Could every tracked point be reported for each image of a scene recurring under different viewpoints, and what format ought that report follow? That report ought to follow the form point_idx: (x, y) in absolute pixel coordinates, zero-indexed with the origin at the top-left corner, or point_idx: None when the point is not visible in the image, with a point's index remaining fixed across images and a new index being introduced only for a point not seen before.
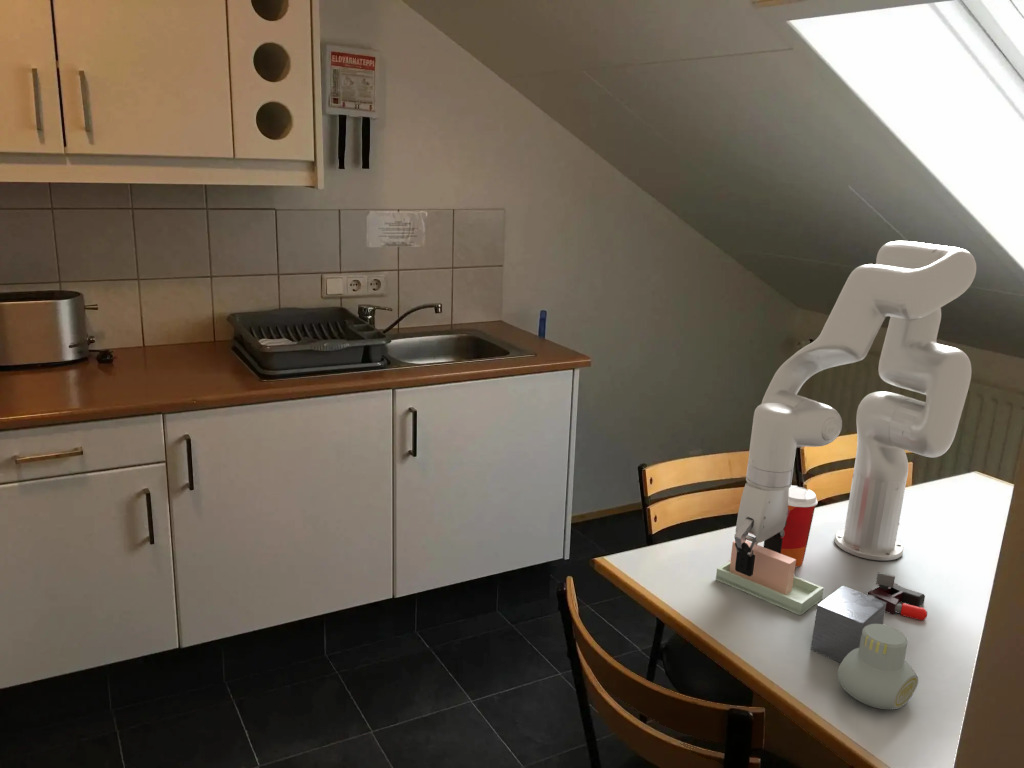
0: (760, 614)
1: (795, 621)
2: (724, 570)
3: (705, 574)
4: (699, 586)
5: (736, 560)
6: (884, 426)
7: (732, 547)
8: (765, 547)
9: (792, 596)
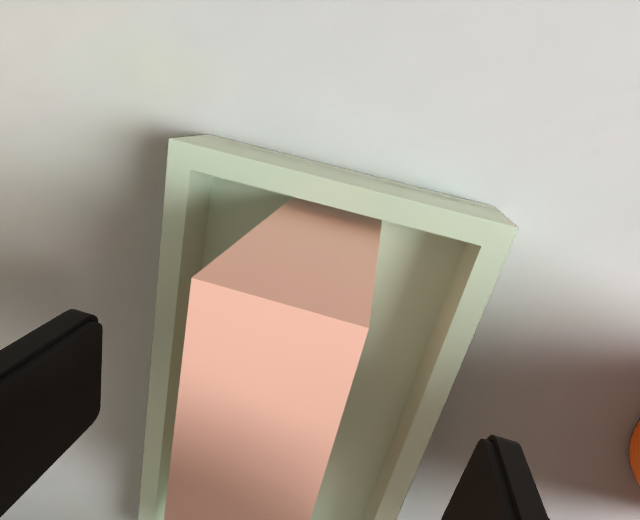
0: None
1: (114, 506)
2: (177, 196)
3: (231, 47)
4: (70, 77)
5: (4, 352)
6: None
7: (222, 257)
8: (488, 499)
9: None
